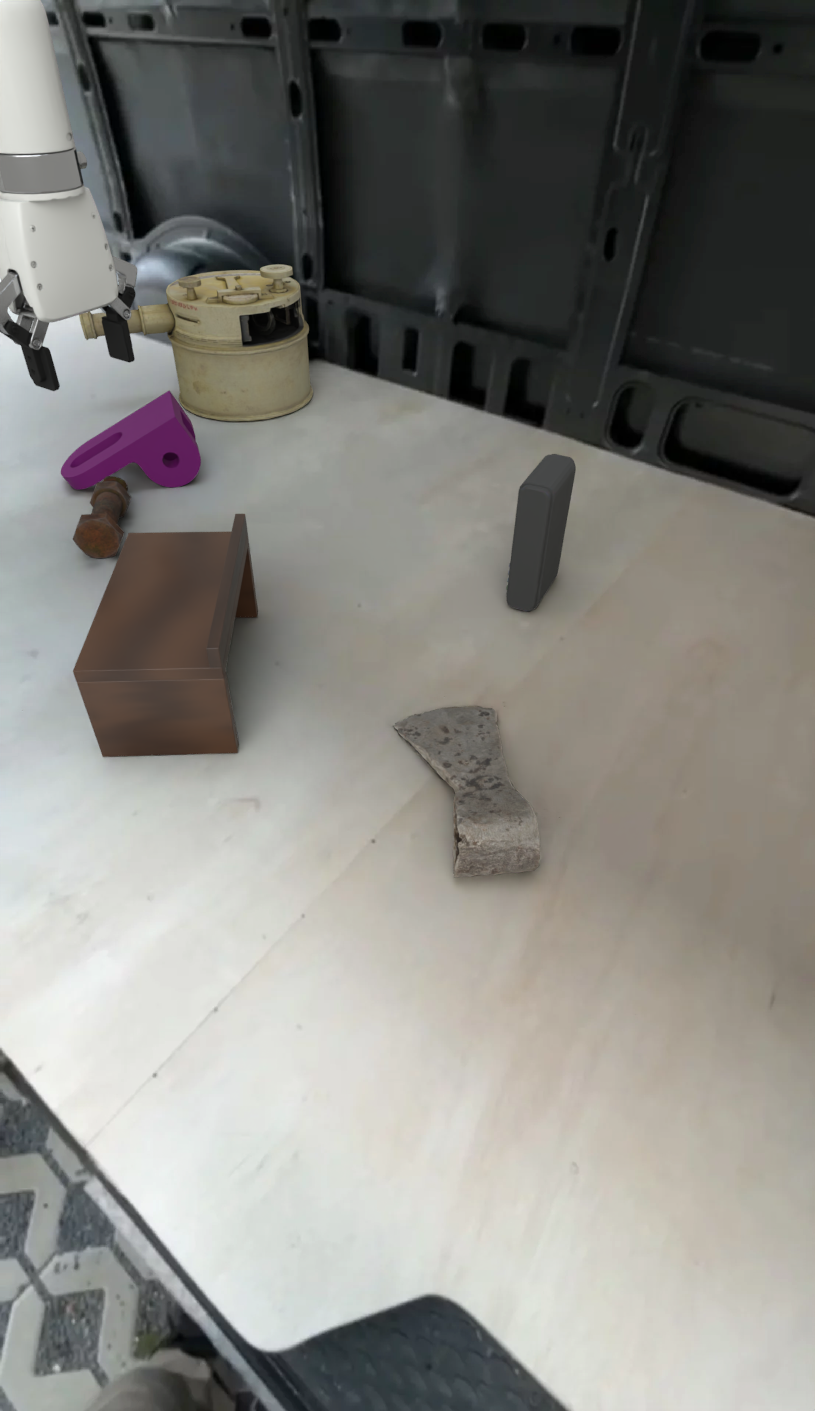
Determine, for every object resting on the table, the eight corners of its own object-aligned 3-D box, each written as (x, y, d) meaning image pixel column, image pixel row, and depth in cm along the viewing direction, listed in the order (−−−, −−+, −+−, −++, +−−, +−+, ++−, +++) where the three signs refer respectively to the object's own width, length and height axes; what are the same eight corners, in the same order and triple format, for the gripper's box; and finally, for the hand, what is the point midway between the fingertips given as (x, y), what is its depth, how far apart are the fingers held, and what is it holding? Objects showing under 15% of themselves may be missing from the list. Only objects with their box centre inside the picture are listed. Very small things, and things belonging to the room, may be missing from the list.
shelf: (102, 757, 71) (65, 651, 63) (148, 613, 87) (123, 514, 79) (237, 753, 71) (218, 648, 63) (258, 611, 88) (245, 513, 80)
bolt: (127, 510, 107) (111, 567, 96) (89, 495, 105) (68, 550, 94) (141, 474, 104) (126, 527, 93) (102, 457, 102) (82, 510, 91)
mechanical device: (99, 386, 135) (67, 255, 122) (296, 366, 144) (287, 241, 131) (106, 439, 120) (71, 295, 106) (327, 413, 128) (320, 277, 115)
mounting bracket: (102, 534, 110) (212, 468, 109) (59, 487, 104) (174, 416, 103) (101, 503, 117) (205, 440, 115) (61, 456, 111) (169, 390, 109)
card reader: (527, 567, 95) (544, 448, 85) (559, 576, 94) (580, 455, 84) (500, 606, 89) (514, 482, 79) (534, 616, 88) (553, 491, 78)
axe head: (389, 695, 74) (493, 685, 76) (390, 739, 77) (490, 729, 78) (430, 846, 57) (563, 829, 58) (430, 896, 60) (557, 879, 61)
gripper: (85, 157, 76) (124, 343, 88) (-81, 183, 66) (-11, 391, 77) (140, 165, 74) (174, 356, 85) (-24, 193, 63) (40, 408, 74)
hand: (86, 372), depth 81 cm, fingers open, 9 cm apart
